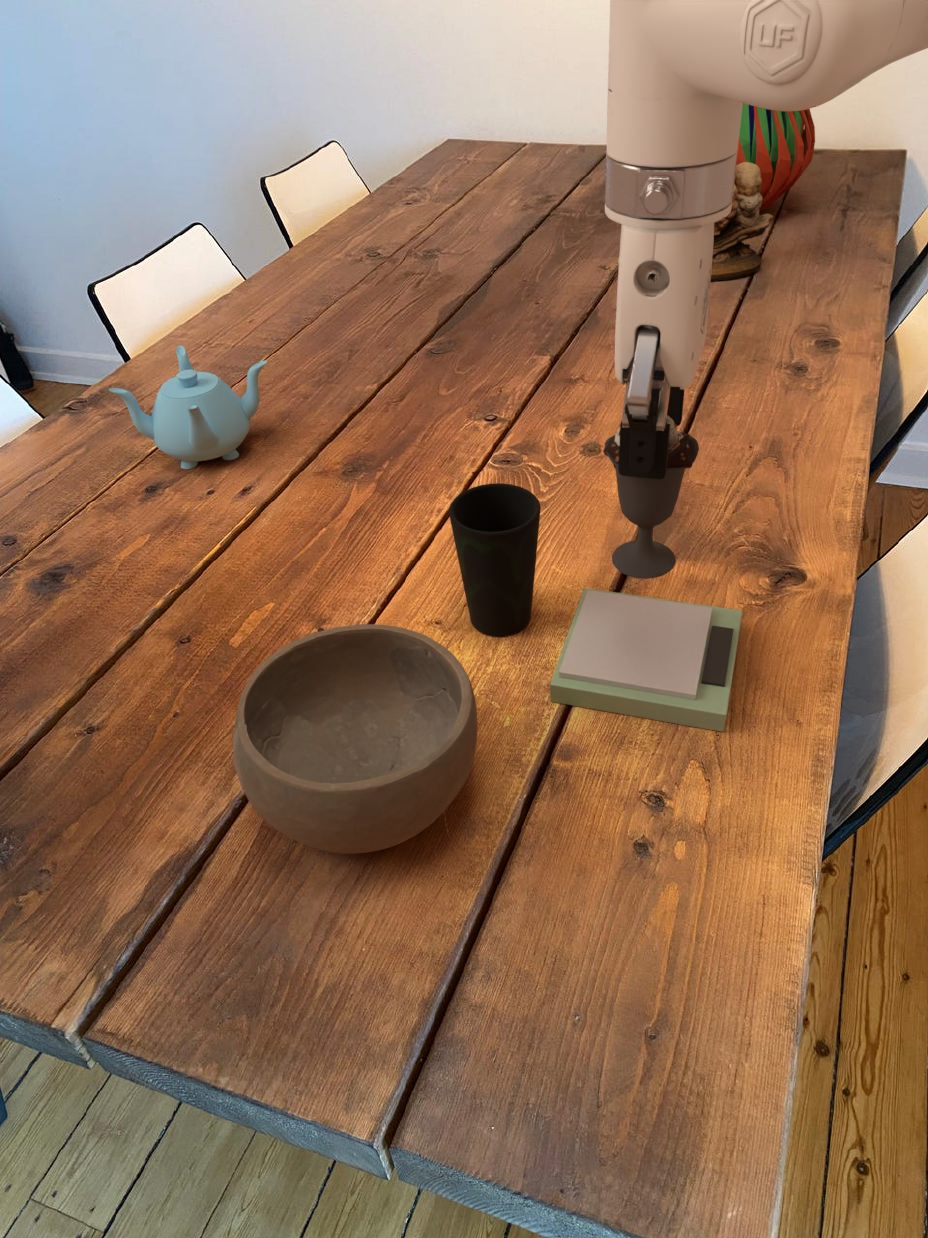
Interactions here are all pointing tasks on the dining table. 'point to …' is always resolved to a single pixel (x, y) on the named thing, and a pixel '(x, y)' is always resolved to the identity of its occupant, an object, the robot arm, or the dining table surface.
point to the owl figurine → (740, 227)
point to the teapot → (197, 414)
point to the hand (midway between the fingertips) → (651, 446)
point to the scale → (649, 659)
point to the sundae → (650, 506)
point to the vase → (776, 147)
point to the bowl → (355, 737)
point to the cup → (497, 554)
